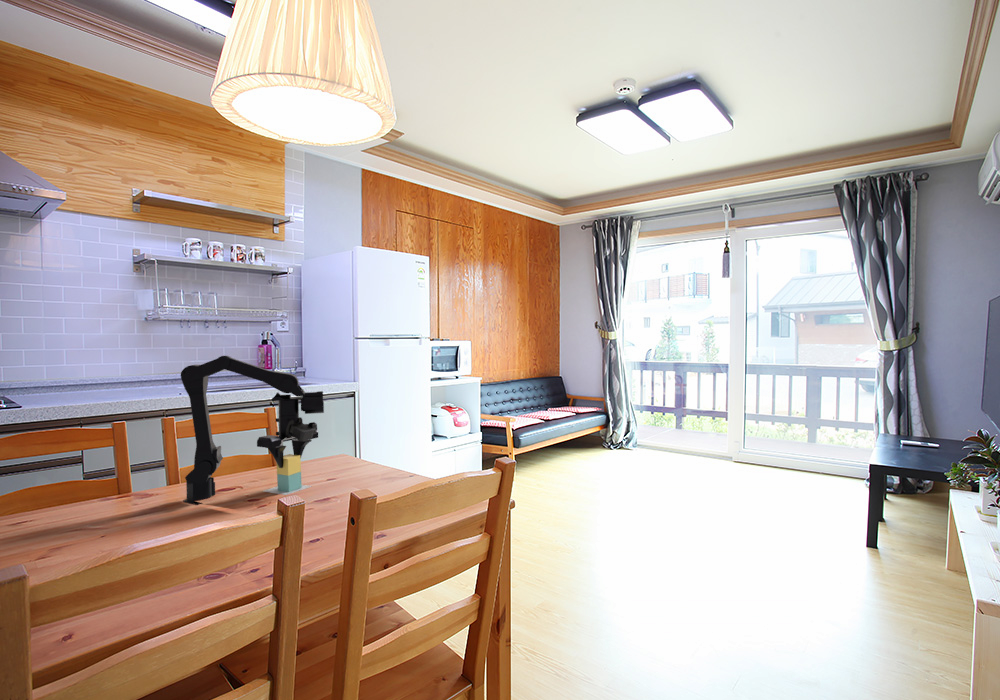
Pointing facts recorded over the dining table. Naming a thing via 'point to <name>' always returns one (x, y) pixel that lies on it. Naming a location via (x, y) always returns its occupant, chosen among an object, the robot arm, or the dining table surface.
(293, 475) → the teal brick
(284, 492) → the build plate
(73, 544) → the dining table surface
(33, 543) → the dining table surface
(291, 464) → the ochre brick
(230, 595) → the dining table surface
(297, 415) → the robot arm
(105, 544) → the dining table surface
